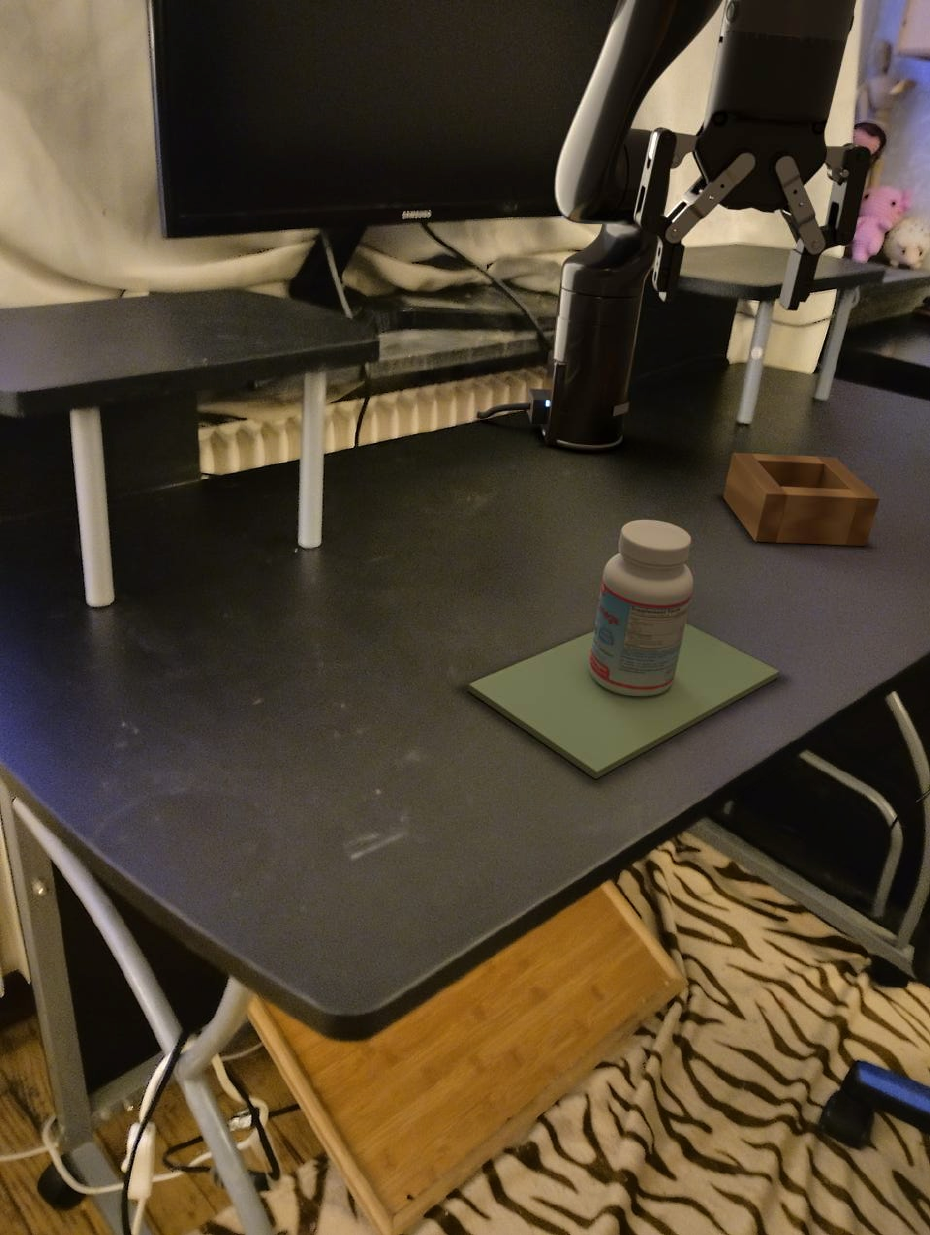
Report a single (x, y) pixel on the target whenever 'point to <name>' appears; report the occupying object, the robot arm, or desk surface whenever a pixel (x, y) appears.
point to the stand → (799, 499)
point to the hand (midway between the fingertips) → (726, 303)
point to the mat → (617, 699)
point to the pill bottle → (642, 610)
